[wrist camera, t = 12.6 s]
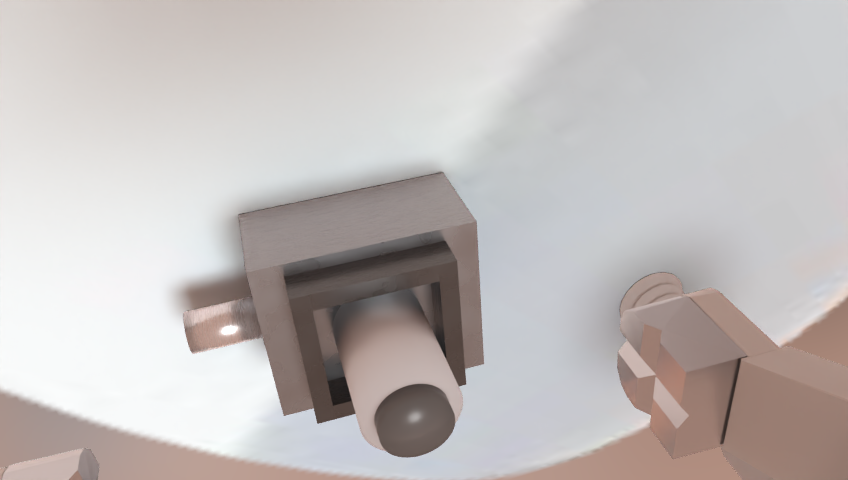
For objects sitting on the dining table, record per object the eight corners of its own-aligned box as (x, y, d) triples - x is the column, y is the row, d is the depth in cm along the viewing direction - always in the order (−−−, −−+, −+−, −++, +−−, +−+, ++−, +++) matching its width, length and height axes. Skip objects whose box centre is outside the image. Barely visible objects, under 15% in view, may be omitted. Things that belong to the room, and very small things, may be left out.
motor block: (443, 172, 43) (489, 240, 36) (453, 305, 48) (495, 386, 42) (165, 229, 40) (161, 315, 33) (209, 364, 45) (213, 461, 39)
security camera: (417, 274, 38) (466, 374, 32) (426, 345, 41) (472, 450, 35) (325, 297, 38) (356, 404, 31) (340, 367, 40) (371, 480, 34)
